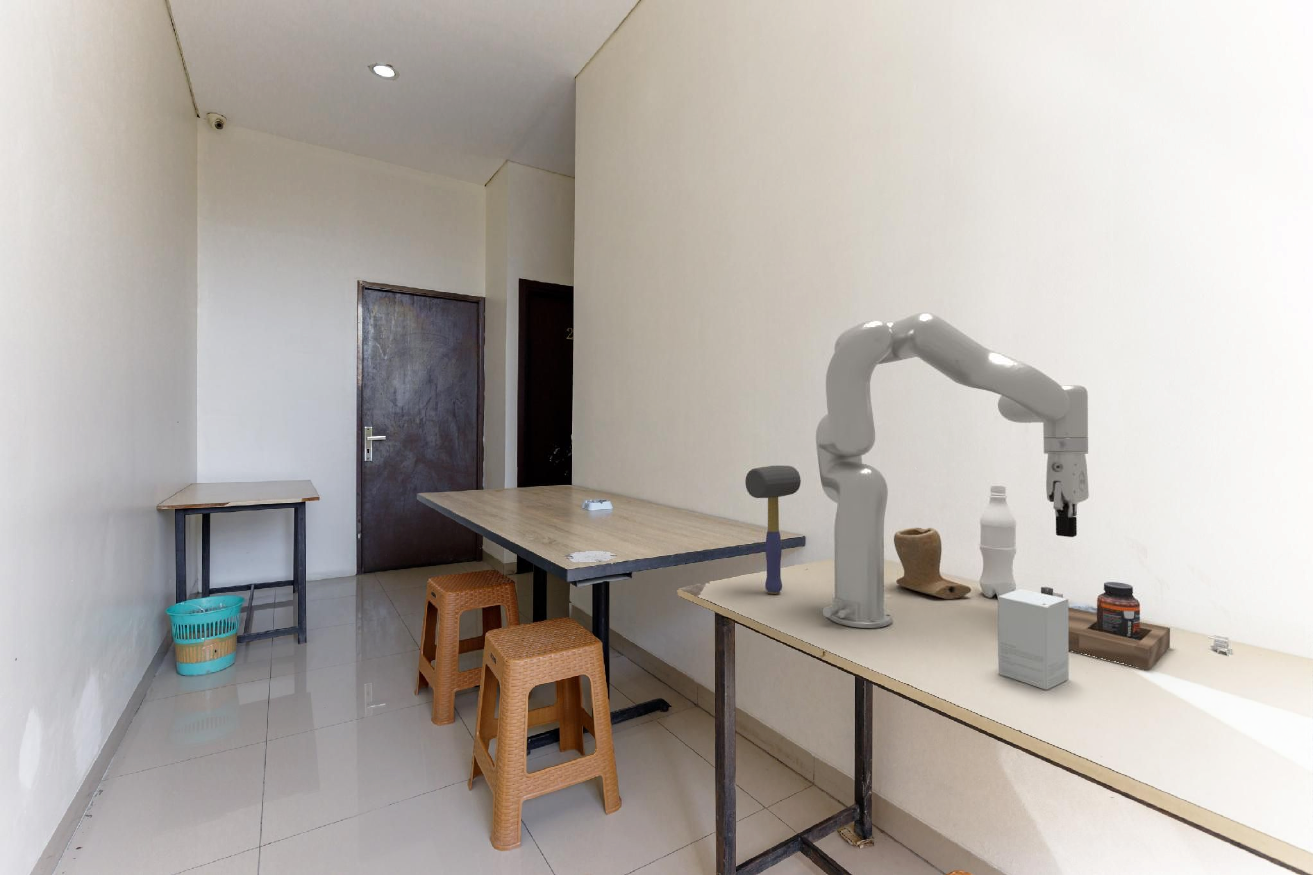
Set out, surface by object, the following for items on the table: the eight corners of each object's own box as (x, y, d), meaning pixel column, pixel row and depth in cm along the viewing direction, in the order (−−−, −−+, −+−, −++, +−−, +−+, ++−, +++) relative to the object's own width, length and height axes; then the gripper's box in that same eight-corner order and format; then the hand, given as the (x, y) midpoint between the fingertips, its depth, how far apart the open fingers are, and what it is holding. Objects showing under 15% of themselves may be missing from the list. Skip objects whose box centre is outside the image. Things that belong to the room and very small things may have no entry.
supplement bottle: (1142, 657, 100) (1142, 591, 100) (1098, 651, 104) (1098, 586, 103) (1136, 646, 106) (1137, 582, 105) (1095, 640, 109) (1095, 578, 108)
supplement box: (1070, 679, 93) (1071, 598, 92) (1046, 691, 89) (1047, 607, 88) (1020, 663, 99) (1020, 587, 99) (996, 673, 95) (996, 594, 95)
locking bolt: (1048, 612, 113) (1048, 593, 113) (1030, 609, 115) (1030, 590, 115) (1062, 604, 118) (1063, 586, 118) (1045, 600, 120) (1045, 583, 120)
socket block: (1147, 670, 95) (1148, 649, 95) (999, 633, 112) (999, 615, 112) (1169, 647, 105) (1170, 627, 105) (1029, 616, 122) (1029, 599, 122)
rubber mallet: (780, 585, 147) (779, 463, 146) (804, 592, 141) (803, 465, 140) (743, 594, 140) (742, 466, 139) (766, 601, 134) (765, 467, 133)
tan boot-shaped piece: (882, 587, 145) (882, 525, 144) (921, 581, 149) (921, 521, 148) (932, 604, 130) (932, 536, 130) (972, 598, 135) (973, 532, 134)
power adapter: (1232, 655, 102) (1232, 637, 102) (1231, 659, 101) (1231, 640, 101) (1208, 650, 105) (1208, 632, 105) (1206, 654, 103) (1206, 636, 103)
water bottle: (1006, 592, 139) (1007, 485, 138) (1022, 601, 132) (1022, 488, 131) (974, 591, 140) (974, 485, 139) (988, 600, 133) (988, 488, 132)
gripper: (1074, 448, 114) (1075, 544, 115) (1098, 444, 124) (1099, 533, 124) (1031, 447, 120) (1031, 538, 121) (1057, 444, 130) (1057, 528, 130)
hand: (1066, 535), depth 122 cm, fingers closed
